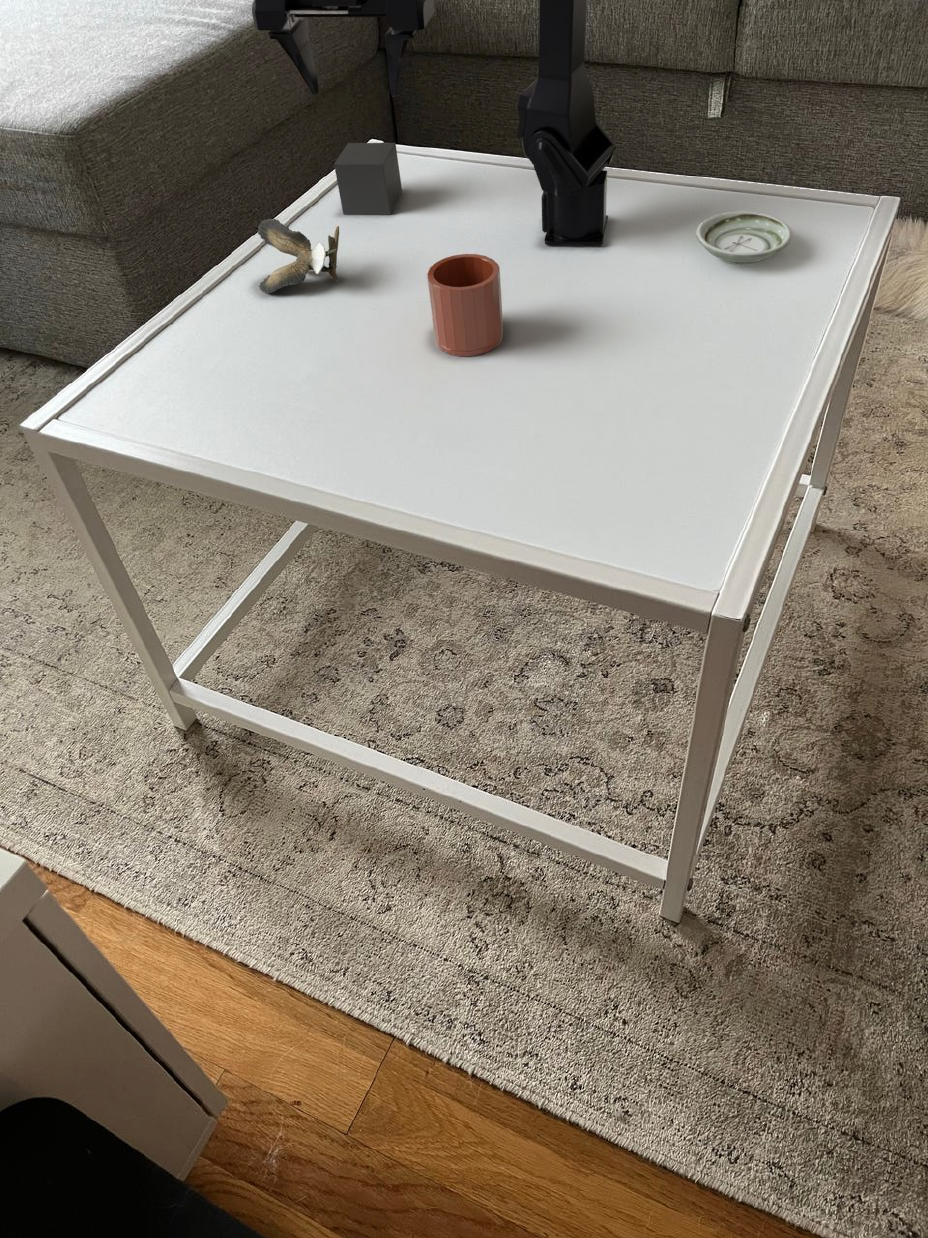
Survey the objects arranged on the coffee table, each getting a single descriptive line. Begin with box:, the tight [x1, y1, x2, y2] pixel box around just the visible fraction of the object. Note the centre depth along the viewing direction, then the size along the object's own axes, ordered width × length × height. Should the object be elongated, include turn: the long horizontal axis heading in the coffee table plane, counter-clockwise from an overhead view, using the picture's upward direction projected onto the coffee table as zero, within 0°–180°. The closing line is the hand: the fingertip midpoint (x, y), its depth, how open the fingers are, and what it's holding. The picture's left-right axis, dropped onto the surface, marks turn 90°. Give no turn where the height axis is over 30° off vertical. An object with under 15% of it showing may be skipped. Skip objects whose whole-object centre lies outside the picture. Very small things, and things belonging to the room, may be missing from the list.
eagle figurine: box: [257, 218, 340, 294], centre depth 101 cm, size 8×7×9 cm
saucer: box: [695, 210, 792, 265], centre depth 98 cm, size 10×10×2 cm
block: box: [334, 142, 403, 216], centre depth 113 cm, size 6×6×6 cm
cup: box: [426, 253, 504, 357], centre depth 90 cm, size 7×7×7 cm
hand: (354, 94), depth 105 cm, fingers open, 9 cm apart
